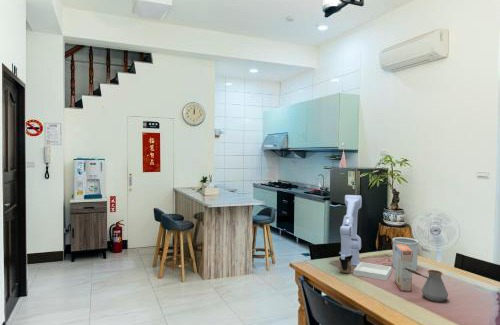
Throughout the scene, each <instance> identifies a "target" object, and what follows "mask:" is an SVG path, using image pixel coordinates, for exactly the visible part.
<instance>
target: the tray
mask: <svg viewBox="0 0 500 325" xmlns="http://www.w3.org/2000/svg"><path fill="white" fill-rule="evenodd" d="M392 268H393V266H390V265H382V264H376V263H369V262H361V261H360V263H359V264H358V266H356V267H355V268H354V269H353V276H357V277H364V278H369V279H373V280H374V279H375V280H381V281H388V278H389V277H390V275H391V273H392V270H393V269H392Z"/></svg>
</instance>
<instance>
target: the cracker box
mask: <svg viewBox="0 0 500 325" xmlns="http://www.w3.org/2000/svg"><path fill="white" fill-rule="evenodd" d="M412 257H413V251H412V250H411V249H410V248H409V247H408V246H407V245H403V244H396V245H395V268H394V283H395V284H396V286H397V288H398V290H399V291H402V292H403V291H404V292H412V290H413V287H412V286H413V284H412V283H413V273H412V272H410V271H408V270H406V269H405V268H407V269H410V270H412ZM403 269H404V270H403ZM405 270H406V271H405ZM403 271H404V272H403Z"/></svg>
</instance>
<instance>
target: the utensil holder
mask: <svg viewBox="0 0 500 325" xmlns="http://www.w3.org/2000/svg"><path fill="white" fill-rule="evenodd" d="M391 242H392V268H394V269H395V245H396V244H403V245H407V246H408V247H409V248H410V249H411V250H412V251H413V257H412V270H413V271H416V272H417V270H418V254H419V253H418V251H419V244H420V243H419V240H418V239H415V238H411V237H401V236H399V237H398V236H397V237H393V238H392V240H391Z"/></svg>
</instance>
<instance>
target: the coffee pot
mask: <svg viewBox="0 0 500 325" xmlns="http://www.w3.org/2000/svg"><path fill="white" fill-rule="evenodd" d="M405 269H406V270H408V271H410V272H412V274H415V275H417V276H420V277H422V278H425V279H426V280H425V282H424V285H423V286H422V289H421V293H422V295H423V296H424V297H425V298H426V299H427V300H430V301H432V302H444V301H445V300H446V299H448V297H449V293H448V290H447V289H446V286H445V284H444V282H443V281H444V280H443V279H442V275H443V271H440V270H437V269H436V270H435V269H428V270H427V274H428V276H426V275H424V274H422V273H419V272H417V270H416V271H413V270H410V269H407V268H405ZM403 270H404V269H403ZM406 270H405V271H406ZM403 272H404V271H403Z"/></svg>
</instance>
